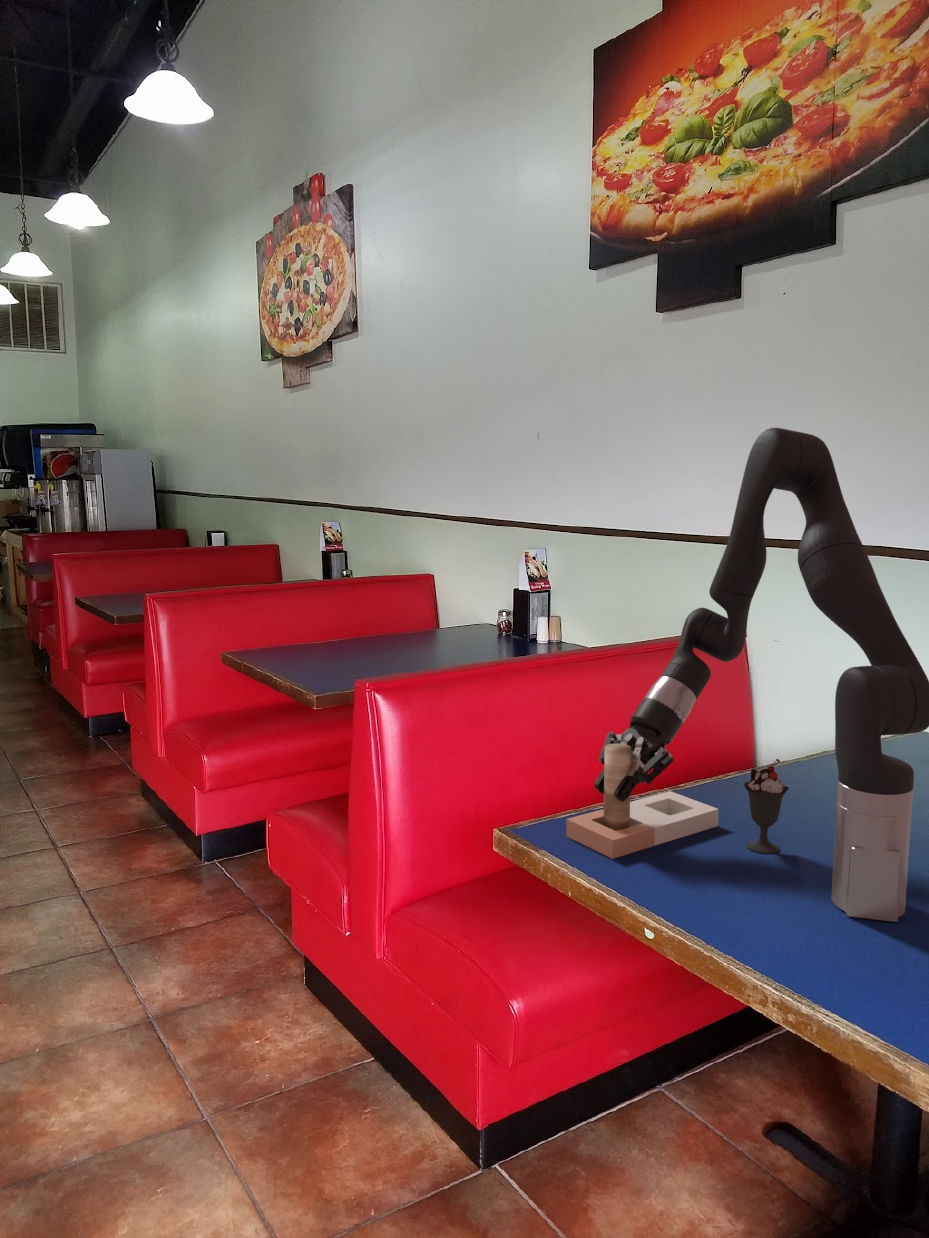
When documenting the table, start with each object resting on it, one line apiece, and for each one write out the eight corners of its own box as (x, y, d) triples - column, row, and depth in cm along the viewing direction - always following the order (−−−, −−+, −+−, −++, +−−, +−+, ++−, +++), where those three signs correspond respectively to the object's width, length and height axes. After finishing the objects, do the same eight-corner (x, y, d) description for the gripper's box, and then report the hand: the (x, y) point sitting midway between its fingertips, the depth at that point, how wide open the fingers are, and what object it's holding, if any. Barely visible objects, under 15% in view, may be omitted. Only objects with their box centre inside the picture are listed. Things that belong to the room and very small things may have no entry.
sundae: (786, 858, 139) (790, 764, 137) (740, 853, 141) (744, 760, 139) (785, 842, 145) (789, 752, 143) (742, 837, 147) (745, 748, 145)
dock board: (612, 858, 139) (612, 840, 139) (566, 836, 148) (566, 818, 148) (718, 826, 152) (718, 808, 152) (669, 807, 161) (670, 791, 161)
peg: (628, 836, 144) (629, 751, 142) (601, 833, 145) (602, 750, 143) (630, 827, 148) (632, 744, 146) (605, 824, 149) (606, 742, 147)
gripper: (622, 688, 154) (566, 770, 149) (685, 705, 142) (627, 794, 137) (644, 714, 157) (590, 794, 152) (707, 732, 146) (651, 820, 141)
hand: (608, 794), depth 145 cm, fingers closed on peg, 4 cm apart
